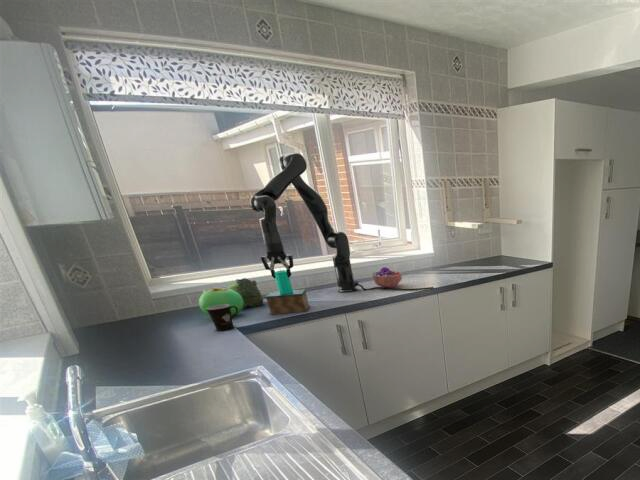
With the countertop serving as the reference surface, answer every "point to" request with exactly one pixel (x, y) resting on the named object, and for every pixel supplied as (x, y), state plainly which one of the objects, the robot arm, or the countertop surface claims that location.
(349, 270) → the robot arm
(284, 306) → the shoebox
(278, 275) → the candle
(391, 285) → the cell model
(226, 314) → the coffee mug
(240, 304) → the green round pot
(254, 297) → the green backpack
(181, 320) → the countertop surface
